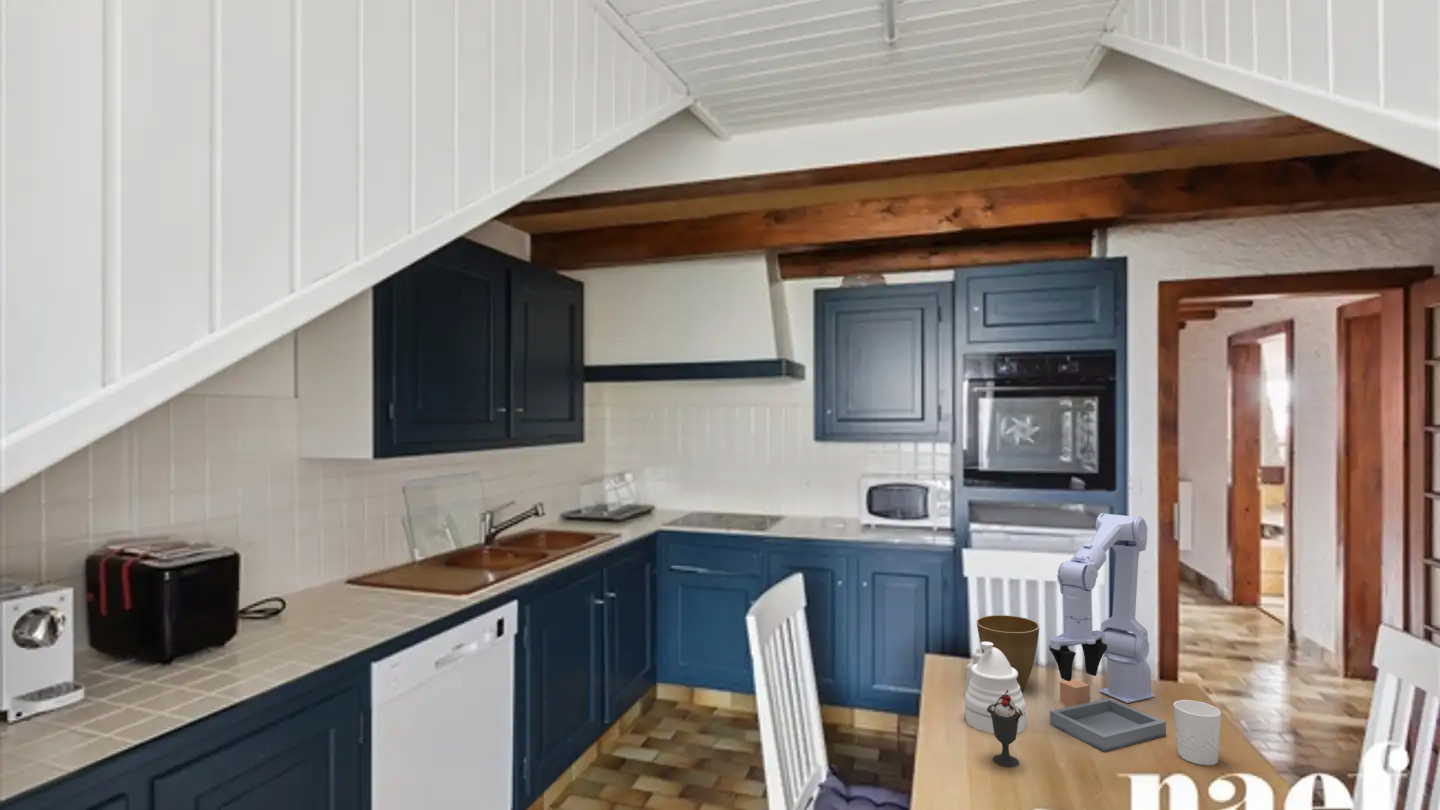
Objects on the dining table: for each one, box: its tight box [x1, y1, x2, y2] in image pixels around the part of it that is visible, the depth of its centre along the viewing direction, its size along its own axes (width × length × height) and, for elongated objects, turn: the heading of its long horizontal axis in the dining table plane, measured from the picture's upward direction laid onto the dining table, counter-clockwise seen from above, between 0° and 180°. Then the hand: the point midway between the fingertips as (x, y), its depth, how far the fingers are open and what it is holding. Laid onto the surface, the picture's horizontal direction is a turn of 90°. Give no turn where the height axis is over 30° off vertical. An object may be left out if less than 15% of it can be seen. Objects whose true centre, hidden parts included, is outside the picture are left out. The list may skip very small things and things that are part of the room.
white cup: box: [1173, 699, 1222, 766], centre depth 144 cm, size 8×8×10 cm
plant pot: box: [976, 614, 1040, 691], centre depth 182 cm, size 15×15×16 cm
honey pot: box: [964, 642, 1027, 734], centre depth 162 cm, size 13×13×18 cm
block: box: [1059, 678, 1091, 707], centre depth 170 cm, size 4×4×5 cm
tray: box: [1049, 697, 1167, 753], centre depth 156 cm, size 18×14×3 cm
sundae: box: [987, 690, 1023, 768], centre depth 144 cm, size 7×7×15 cm
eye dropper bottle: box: [966, 647, 983, 692], centre depth 175 cm, size 4×6×12 cm
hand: (1078, 676), depth 160 cm, fingers open, 7 cm apart
